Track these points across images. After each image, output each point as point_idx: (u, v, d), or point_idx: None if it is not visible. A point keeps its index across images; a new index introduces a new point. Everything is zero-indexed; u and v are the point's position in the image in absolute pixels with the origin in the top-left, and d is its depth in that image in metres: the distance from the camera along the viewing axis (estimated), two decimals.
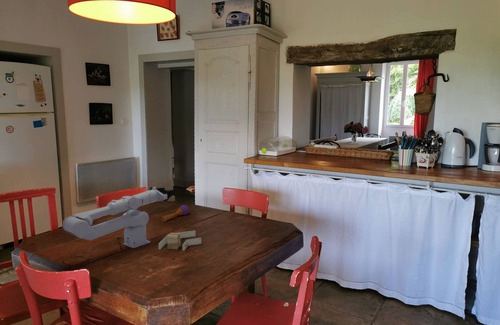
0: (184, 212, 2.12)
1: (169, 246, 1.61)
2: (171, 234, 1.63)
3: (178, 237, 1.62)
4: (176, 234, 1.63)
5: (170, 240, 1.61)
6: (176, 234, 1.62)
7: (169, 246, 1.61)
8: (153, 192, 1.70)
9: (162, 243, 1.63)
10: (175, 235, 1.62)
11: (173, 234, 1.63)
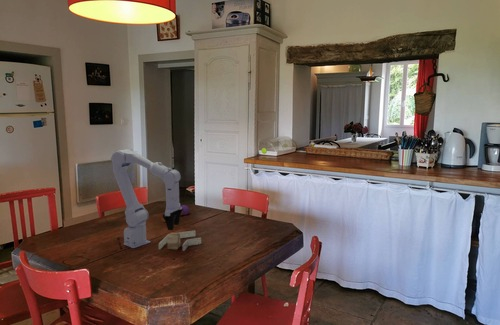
0: (184, 212, 2.12)
1: (169, 246, 1.61)
2: (171, 234, 1.63)
3: (178, 237, 1.62)
4: (176, 234, 1.63)
5: (170, 240, 1.61)
6: (176, 234, 1.62)
7: (169, 246, 1.61)
8: (176, 204, 1.58)
9: (162, 243, 1.63)
10: (175, 235, 1.62)
11: (173, 234, 1.63)
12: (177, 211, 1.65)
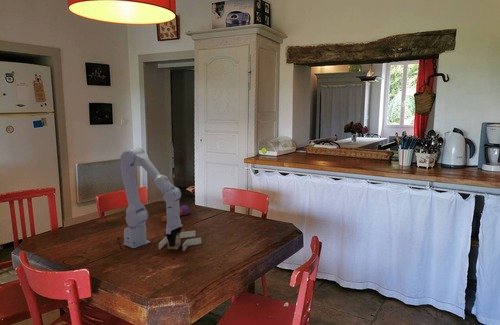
0: (184, 212, 2.12)
1: (169, 246, 1.61)
2: None
3: (178, 237, 1.62)
4: None
5: None
6: None
7: None
8: (176, 222, 1.60)
9: (162, 243, 1.63)
10: None
11: None
12: (177, 229, 1.65)
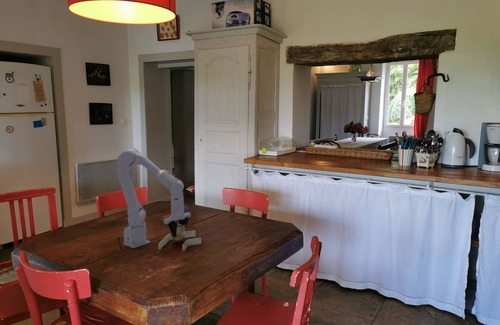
0: (184, 212, 2.11)
1: (172, 236, 1.68)
2: None
3: (181, 229, 1.67)
4: (180, 225, 1.68)
5: None
6: (179, 226, 1.67)
7: None
8: (177, 214, 1.64)
9: (162, 243, 1.63)
10: (178, 226, 1.67)
11: (178, 225, 1.69)
12: (182, 221, 1.69)
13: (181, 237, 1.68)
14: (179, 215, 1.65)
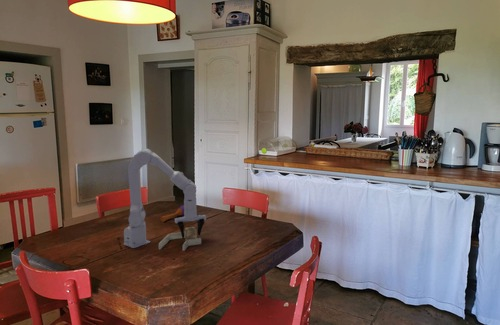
0: None
1: (185, 238, 1.72)
2: (190, 228, 1.72)
3: (191, 232, 1.69)
4: (192, 229, 1.70)
5: (185, 233, 1.71)
6: (191, 229, 1.70)
7: (185, 237, 1.72)
8: (187, 215, 1.67)
9: (162, 243, 1.63)
10: (189, 229, 1.69)
11: (191, 228, 1.71)
12: (198, 222, 1.71)
13: None
14: (189, 216, 1.67)
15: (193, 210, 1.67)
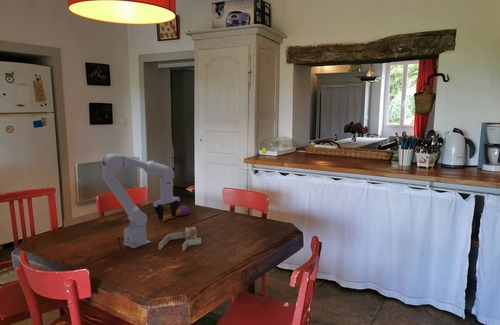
0: (183, 212, 2.11)
1: (185, 238, 1.72)
2: (190, 228, 1.72)
3: (191, 232, 1.69)
4: (192, 229, 1.70)
5: (185, 233, 1.71)
6: (191, 229, 1.70)
7: (185, 237, 1.72)
8: (166, 197, 1.71)
9: (162, 243, 1.63)
10: (189, 229, 1.69)
11: (191, 228, 1.71)
12: (173, 204, 1.77)
13: None
14: (168, 198, 1.72)
15: (171, 192, 1.73)
